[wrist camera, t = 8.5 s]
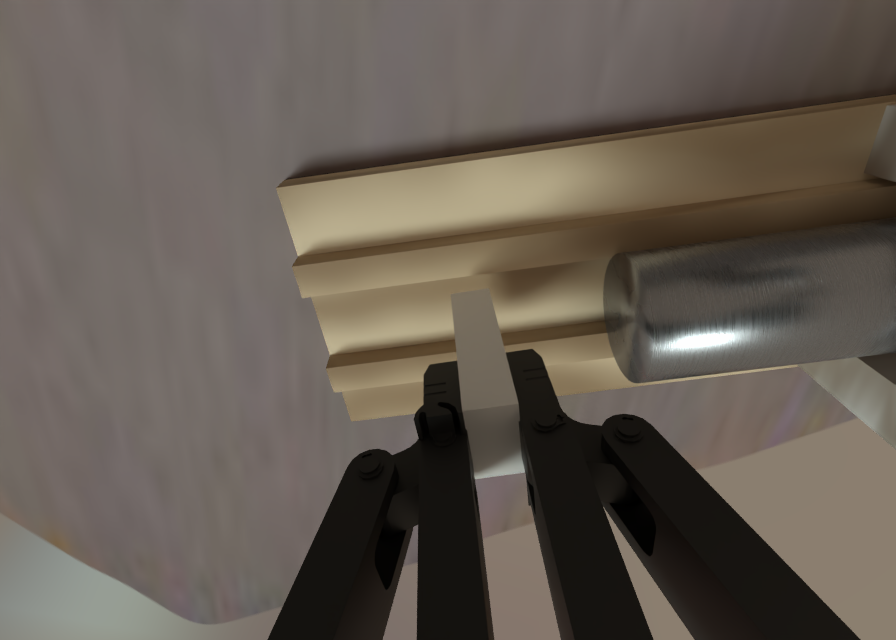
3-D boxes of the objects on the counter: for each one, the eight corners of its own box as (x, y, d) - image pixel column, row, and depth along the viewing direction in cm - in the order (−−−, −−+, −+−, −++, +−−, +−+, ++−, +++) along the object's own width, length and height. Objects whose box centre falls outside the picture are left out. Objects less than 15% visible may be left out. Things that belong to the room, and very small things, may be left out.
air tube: (599, 335, 21) (644, 413, 17) (606, 231, 18) (662, 292, 14) (1049, 280, 20) (1218, 346, 16) (1125, 163, 17) (1355, 204, 13)
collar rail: (279, 164, 18) (84, 320, 8) (1170, 38, 17) (2312, 26, 7) (354, 405, 24) (303, 661, 14) (997, 325, 23) (1438, 540, 13)
